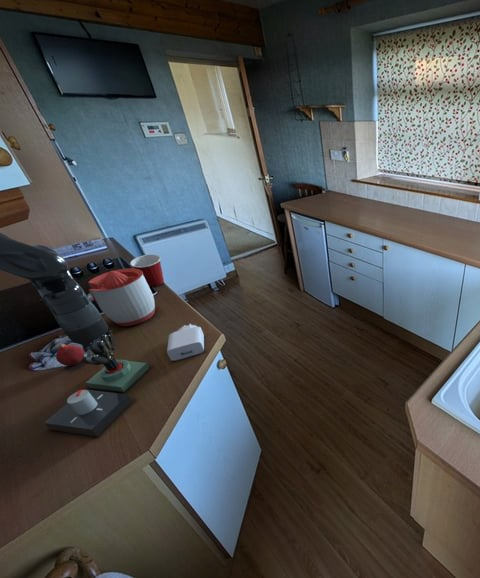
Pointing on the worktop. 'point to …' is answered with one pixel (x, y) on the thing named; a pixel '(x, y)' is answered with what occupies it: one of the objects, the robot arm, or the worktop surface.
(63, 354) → the red round fruit
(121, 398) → the panel
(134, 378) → the block
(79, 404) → the burner knob
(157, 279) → the plastic cup
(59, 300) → the robot arm
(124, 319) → the citrus juicer
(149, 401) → the worktop surface
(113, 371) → the button
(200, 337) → the charger
